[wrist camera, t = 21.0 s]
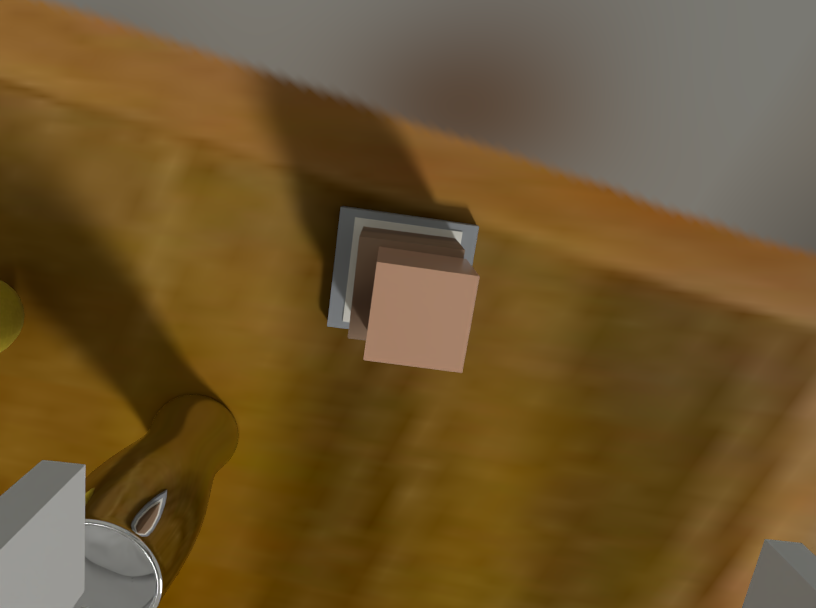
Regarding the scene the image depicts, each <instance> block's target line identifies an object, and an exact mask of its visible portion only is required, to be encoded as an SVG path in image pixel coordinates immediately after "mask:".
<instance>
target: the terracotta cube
mask: <svg viewBox="0 0 816 608" xmlns="http://www.w3.org/2000/svg"><path fill="white" fill-rule="evenodd" d="M479 277H480V276H479V275H478V274H477V272H476V271H475V270H474V268H473V267H472V266H471V264H470V263H469V262H468V260H467V259H464V258H457V257H450V256H443V255H436V254H429V253H421V252H414V251H407V250H400V249H393V248H386V247H379V250H378V257H377V264H376V272H375V279H374V287H373V294H372V301H371V309H370V316H369V323H368V331H367V338H366V345H365V353H364V360H367V361H375V362H383V363H390V364H398V365H406V366H414V367H421V368H429V369H437V370H444V371H452V372H460V373H462V371H463V365H464V360H465V354H466V349H467V343H468V338H469V332H470V327H471V321H472V316H473V310H474V304H475V299H476V293H477V288H478V282H479Z"/></svg>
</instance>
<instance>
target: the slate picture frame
mask: <svg viewBox="0 0 816 608" xmlns="http://www.w3.org/2000/svg"><path fill="white" fill-rule="evenodd" d="M363 226H365V227H373V228H380V229H388V230H396V231H403V232H411V233H419V234H427V235H434V236H442V237H450V238H456V240H457V241H458V242H459V243H460V244H461V246H462V247H463V248H464V249H465V254H464V259H467V260H468V262H469V263H470V264H471V266H472V264H473V258H474V252H475V246H476V240H477V235H478V229H479V226H478V225H475V224H468V223H460V222H453V221H446V220H439V219H432V218H425V217H418V216H411V215H403V214H396V213H389V212H382V211H375V210H368V209H361V208H353V207H346V206H341V208H340V216H339V225H338V234H337V243H336V252H335V261H334V270H333V279H332V288H331V297H330V306H329V314H328V323H327V326H329V327H337V328H345V329H349V323H350V314H351V305H352V297H353V288H354V279H355V270H356V261H357V253H358V244H359V236H360V234H361V231H362V229H363Z"/></svg>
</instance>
